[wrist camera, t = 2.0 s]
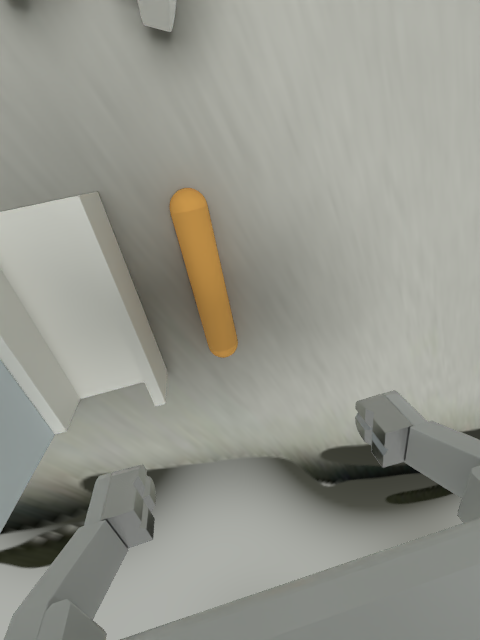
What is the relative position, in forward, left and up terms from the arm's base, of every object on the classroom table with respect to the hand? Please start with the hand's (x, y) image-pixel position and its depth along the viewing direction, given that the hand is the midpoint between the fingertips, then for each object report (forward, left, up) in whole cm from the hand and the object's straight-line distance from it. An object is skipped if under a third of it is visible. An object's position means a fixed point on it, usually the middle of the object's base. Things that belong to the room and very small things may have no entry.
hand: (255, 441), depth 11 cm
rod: (0, 0, -19) cm, 19 cm away
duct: (-12, 0, -19) cm, 22 cm away
